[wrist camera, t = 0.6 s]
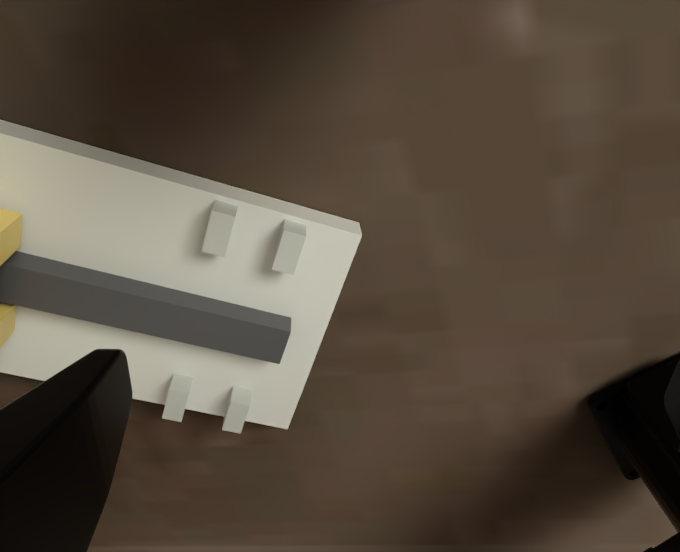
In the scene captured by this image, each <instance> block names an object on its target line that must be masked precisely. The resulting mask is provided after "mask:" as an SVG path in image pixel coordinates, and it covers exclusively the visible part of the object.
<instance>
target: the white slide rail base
mask: <svg viewBox="0 0 680 552" xmlns="http://www.w3.org/2000/svg"><path fill="white" fill-rule="evenodd" d="M0 208H2V209H5V210H9V211H13V212H17V213H21V214H22V228H21V243H20V247H19V248H18V249H17V250H16V251H15V252H14V253H13V254H12V255H11V256H10V257H9V258H8V259H7V260H6V261H5V262H4V263H3V264H2V265H1V266H0V302H3V303H8V304H12V305H16V316H15V330H14V332H13V333H12V334H11V335H10V337H9V338H8V339H7V340H6V342H5V343H4V344H3V345H2V347H1V348H0V372H2V373H7V374H12V375H17V376H22V377H27V378H32V379H37V380H42V381H46V380H47V379H49V378H50V377H52V376H54V375H55V374H57V373H58V372H60V371H61V370H63V369H65V368H66V367H68V366H69V365H71V364H73V363H74V362H76V361H77V360H79V359H81V358H82V357H84V356H85V355H87V354H88V353H90V352H92V351H94V350H95V349H121V350H123V351H124V352H125V354H126V357H127V362H128V368H129V374H130V380H131V386H132V399H138V400H143V401H148V402H153V403H158V404H163V405H165V407H164V412H163V416H162V418H163V419H168V420H173V421H178V422H182V418H183V414H184V411H185V409H188V410H193V411H198V412H203V413H208V414H213V415H218V416H223V417H224V421H223V427H222V430H225V431H230V432H235V433H240V434H241V431H242V428H243V425H244V422H245V421H248V422H253V423H258V424H263V425H268V426H273V427H278V428H283V429H288V427H289V424H290V422H291V419H292V417H293V414H294V411H295V409H296V406H297V404H298V401H299V398H300V396H301V393H302V391H303V388H304V385H305V383H306V380H307V378H308V375H309V372H310V370H311V367H312V365H313V362H314V359H315V357H316V354H317V352H318V349H319V346H320V344H321V341H322V338H323V336H324V333H325V331H326V328H327V325H328V323H329V320H330V318H331V315H332V312H333V310H334V307H335V305H336V302H337V299H338V297H339V294H340V292H341V289H342V286H343V284H344V281H345V279H346V276H347V273H348V271H349V268H350V266H351V263H352V260H353V258H354V255H355V253H356V250H357V247H358V245H359V242H360V239H361V237H362V233H361V229H360V225H359V222H355V221H352V220H348V219H345V218H341V217H338V216H334V215H331V214H327V213H324V212H320V211H317V210H313V209H310V208H307V207H303V206H300V205H296V204H293V203H289V202H286V201H282V200H279V199H275V198H272V197H268V196H265V195H261V194H258V193H254V192H251V191H247V190H244V189H240V188H237V187H233V186H230V185H227V184H223V183H220V182H216V181H213V180H209V179H206V178H202V177H199V176H195V175H192V174H188V173H185V172H181V171H178V170H174V169H171V168H167V167H164V166H160V165H157V164H153V163H150V162H147V161H143V160H140V159H136V158H133V157H129V156H126V155H122V154H119V153H115V152H112V151H108V150H105V149H101V148H98V147H94V146H91V145H87V144H84V143H80V142H77V141H73V140H70V139H67V138H63V137H60V136H56V135H53V134H49V133H46V132H42V131H39V130H35V129H32V128H28V127H25V126H21V125H18V124H14V123H11V122H7V121H4V120H0Z"/></svg>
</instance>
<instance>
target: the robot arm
mask: <svg viewBox="0 0 680 552" xmlns="http://www.w3.org/2000/svg"><path fill="white" fill-rule="evenodd" d="M600 403H601V404H600ZM599 404H600V405H599ZM131 405H132V386H131V380H130V374H129V368H128V362H127V357H126V354H125V352H124V351H123V350H121V349H95V350H94V351H92V352H90V353H88V354H87V355H85V356H84V357H82V358H81V359H79V360H77V361H76V362H74V363H73V364H71V365H69V366H68V367H66V368H65V369H63V370H61V371H60V372H58V373H57V374H55V375H54V376H52V377H50V378H49V379H47V380H46V381H44V382H42V383H41V384H39V385H38V386H36V387H34V388H33V389H31V390H30V391H28V392H27V393H25V394H23V395H22V396H20V397H19V398H17V399H15V400H14V401H12V402H11V403H9V404H7V405H6V406H4V407H3V408H1V409H0V552H87V549H88V547H89V544H90V542H91V539H92V536H93V534H94V531H95V529H96V526H97V523H98V521H99V518H100V516H101V513H102V511H103V508H104V505H105V502H106V499H107V497H108V494H109V490H110V486H111V483H112V479H113V475H114V472H115V468H116V464H117V460H118V456H119V452H120V448H121V444H122V441H123V437H124V433H125V429H126V425H127V421H128V417H129V413H130V410H131ZM588 407H589V409H590V411H591V413H592V415H593V417H594V419H595V420H596V422H597V424H598V426H599V428H600V430H601V432H602V434H603V436H604V438H605V440H606V442H607V444H608V446H609V448H610V450H611V452H612V454H613V456H614V458H615V460H616V462H617V464H618V465H619V467H620V469H621V471H622V473H623V474H624V476H625V477H626V478H627V479H629V480H634V479H637V478H640V477H641V479H642V480H643V482H644V483H645V485H646V486H647V487H648V489H649V490H650V492H651V493H652V495H653V496H654V498H655V499H656V501H657V502H658V504H659V505H660V507H661V508H662V510H663V511H664V513H665V514H666V515H667V517H668V518H669V520H670V521H671V523H672V524H673V526H674V527H675V529H676V530H677V532H678V533H677V534H675V535H674V536H672V537H671V538H669V539H667V540H666V541H664V542H663V543H661V544H660V545H658V546H656V547H655V548H652V547H650V548H648V549H647V550H645V551H644V552H680V355H679V356H677V357H675V358H673V359H670V360H668V361H666V362H664V363H662V364H660V365H658V366H655V367H653V368H651V369H649V370H647V371H645V372H642V373H640V374H638V375H636V376H634V377H632V378H629V379H627V380H625V381H623V382H621V383H619V384H616V385H614V386H612V387H610V388H608V389H606V390H603V391H601V392H599V393H597V394H595V395H593V396H592V397H590V399H589V400H588Z"/></svg>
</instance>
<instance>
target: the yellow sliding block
mask: <svg viewBox="0 0 680 552" xmlns="http://www.w3.org/2000/svg"><path fill="white" fill-rule="evenodd" d="M21 228H22V214H21V213H17V212H13V211H9V210H5V209H2V208H0V266H1V265H2V264H3V263H4V262H5V261H6V260H7V259H8V258H9V257H10V256H11V255H12V254H13V253H14V252H15V251H16V250H17V249H18V248H19V247H20V243H21ZM15 316H16V305H12V304H8V303H3V302H0V348H1V347H2V345H3V344H4V343H5V342H6V340H7V339H8V338H9V337H10V335H11V334H12V333H13V332H14V330H15Z"/></svg>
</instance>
